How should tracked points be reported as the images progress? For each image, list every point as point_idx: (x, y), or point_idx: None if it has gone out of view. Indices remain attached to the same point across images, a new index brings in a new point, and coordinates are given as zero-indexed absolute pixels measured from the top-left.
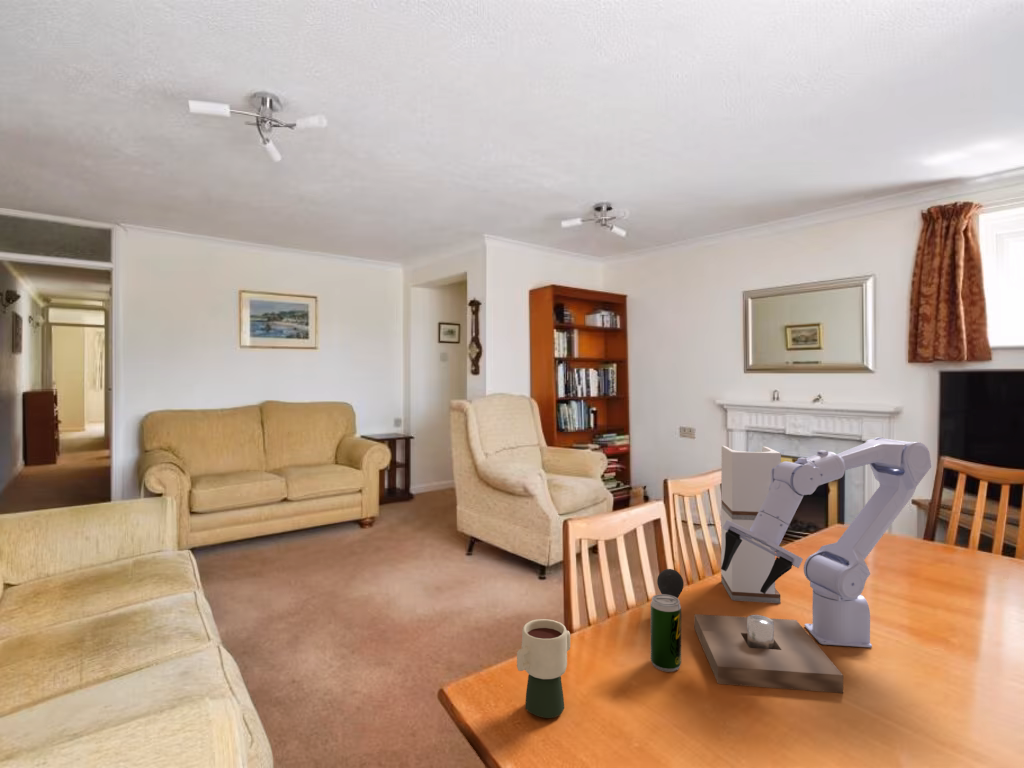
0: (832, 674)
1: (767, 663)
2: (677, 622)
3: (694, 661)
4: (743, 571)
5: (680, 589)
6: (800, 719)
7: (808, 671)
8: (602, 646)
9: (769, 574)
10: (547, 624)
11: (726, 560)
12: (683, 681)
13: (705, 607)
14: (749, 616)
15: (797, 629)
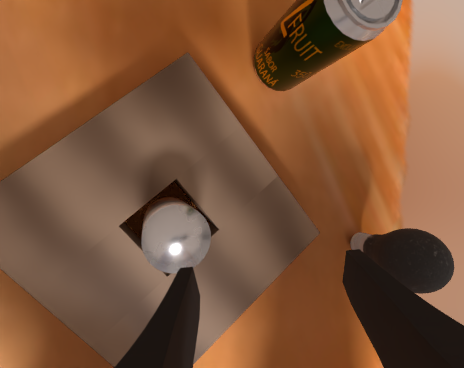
0: None
1: (115, 138)
2: (302, 1)
3: (247, 112)
4: None
5: (384, 256)
6: (8, 49)
7: (24, 172)
8: (368, 51)
9: (169, 334)
10: None
11: (378, 276)
12: (228, 34)
13: (326, 322)
14: (208, 238)
15: None
